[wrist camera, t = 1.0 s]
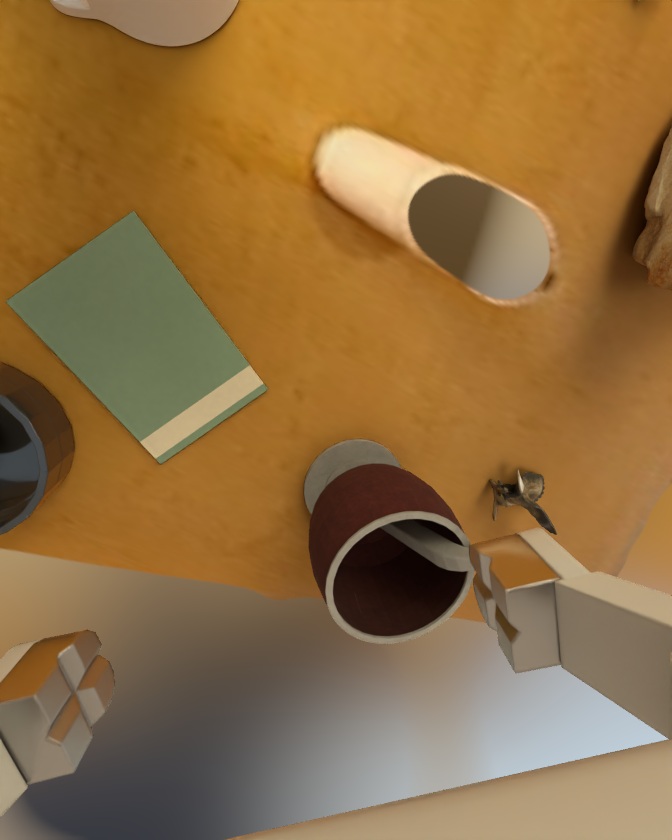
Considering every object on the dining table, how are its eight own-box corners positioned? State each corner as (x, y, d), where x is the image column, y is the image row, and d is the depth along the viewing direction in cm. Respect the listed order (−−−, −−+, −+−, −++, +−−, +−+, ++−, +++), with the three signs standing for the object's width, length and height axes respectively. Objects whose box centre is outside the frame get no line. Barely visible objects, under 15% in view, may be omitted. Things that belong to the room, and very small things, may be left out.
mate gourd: (324, 553, 51) (365, 705, 32) (277, 464, 46) (293, 583, 27) (433, 500, 52) (535, 619, 33) (398, 407, 47) (494, 485, 28)
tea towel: (8, 301, 36) (4, 301, 36) (134, 211, 36) (132, 210, 35) (161, 462, 43) (160, 464, 43) (267, 388, 43) (268, 389, 43)
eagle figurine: (476, 522, 53) (540, 537, 53) (507, 519, 46) (579, 537, 47) (482, 466, 55) (542, 481, 56) (511, 455, 48) (580, 473, 49)
